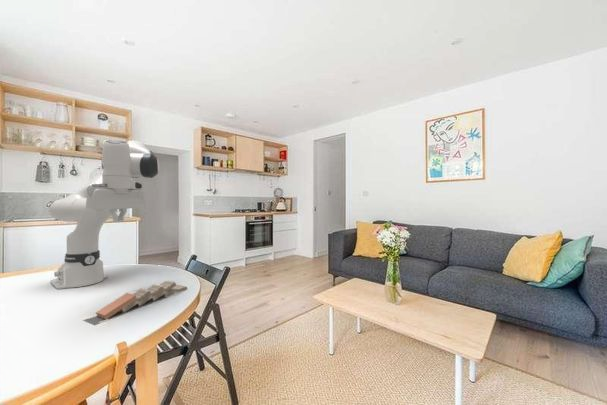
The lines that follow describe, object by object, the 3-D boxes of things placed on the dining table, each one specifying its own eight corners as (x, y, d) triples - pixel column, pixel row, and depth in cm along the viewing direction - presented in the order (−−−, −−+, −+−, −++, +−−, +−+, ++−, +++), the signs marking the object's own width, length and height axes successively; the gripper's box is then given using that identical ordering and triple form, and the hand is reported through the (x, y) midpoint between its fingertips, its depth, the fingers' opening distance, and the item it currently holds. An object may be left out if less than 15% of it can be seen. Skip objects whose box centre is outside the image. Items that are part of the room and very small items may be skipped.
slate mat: (82, 321, 80) (82, 319, 80) (155, 295, 102) (155, 294, 102) (94, 326, 77) (94, 324, 77) (167, 298, 99) (167, 297, 99)
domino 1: (122, 308, 85) (149, 290, 93) (113, 306, 87) (141, 288, 95) (123, 312, 85) (151, 293, 94) (115, 310, 87) (142, 291, 96)
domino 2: (137, 303, 89) (162, 285, 98) (129, 300, 92) (154, 283, 100) (139, 306, 90) (164, 289, 98) (130, 304, 92) (155, 287, 100)
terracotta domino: (97, 316, 83) (128, 296, 91) (106, 319, 80) (137, 299, 89) (95, 312, 82) (126, 292, 91) (104, 315, 80) (135, 295, 88)
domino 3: (152, 297, 94) (175, 281, 102) (143, 295, 96) (166, 279, 105) (153, 301, 94) (176, 285, 103) (145, 299, 97) (168, 283, 105)
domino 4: (165, 293, 99) (187, 286, 108) (156, 290, 101) (179, 284, 110) (164, 297, 99) (186, 290, 108) (156, 295, 101) (178, 288, 110)
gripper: (94, 183, 84) (95, 225, 84) (147, 184, 103) (148, 218, 104) (80, 183, 85) (81, 224, 86) (135, 184, 105) (135, 218, 106)
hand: (118, 221), depth 95 cm, fingers closed
